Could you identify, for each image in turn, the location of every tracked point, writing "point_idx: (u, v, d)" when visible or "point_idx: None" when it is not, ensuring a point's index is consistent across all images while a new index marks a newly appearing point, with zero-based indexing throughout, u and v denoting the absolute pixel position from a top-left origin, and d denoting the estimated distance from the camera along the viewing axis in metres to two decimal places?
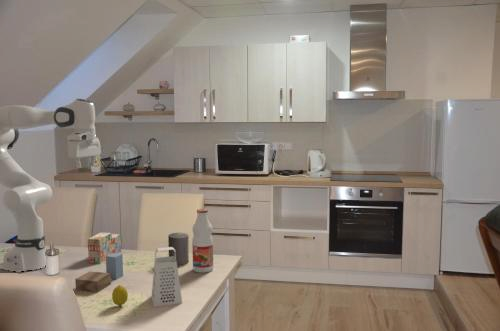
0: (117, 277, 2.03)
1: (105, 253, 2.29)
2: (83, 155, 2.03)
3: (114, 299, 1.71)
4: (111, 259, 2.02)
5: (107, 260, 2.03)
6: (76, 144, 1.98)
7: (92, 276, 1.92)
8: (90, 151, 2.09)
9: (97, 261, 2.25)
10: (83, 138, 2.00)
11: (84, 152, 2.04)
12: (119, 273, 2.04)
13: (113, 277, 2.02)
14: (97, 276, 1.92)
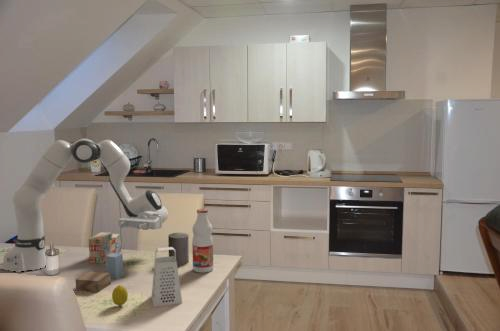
0: (117, 277, 2.03)
1: (106, 253, 2.30)
2: (144, 228, 2.18)
3: (114, 299, 1.71)
4: (111, 259, 2.02)
5: (107, 260, 2.03)
6: (159, 227, 2.21)
7: (92, 276, 1.92)
8: None
9: (98, 261, 2.25)
10: None
11: None
12: (119, 273, 2.04)
13: (113, 277, 2.02)
14: (98, 276, 1.92)
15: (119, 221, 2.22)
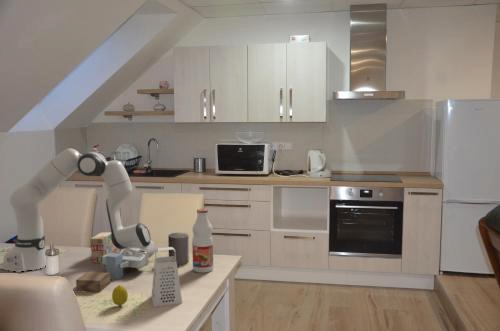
0: (117, 277, 2.03)
1: (108, 252, 2.30)
2: None
3: (114, 299, 1.71)
4: (111, 259, 2.02)
5: (107, 260, 2.03)
6: (145, 264, 2.11)
7: (93, 276, 1.92)
8: None
9: (100, 260, 2.26)
10: None
11: None
12: (119, 273, 2.04)
13: (113, 277, 2.02)
14: (98, 276, 1.92)
15: (103, 258, 2.11)
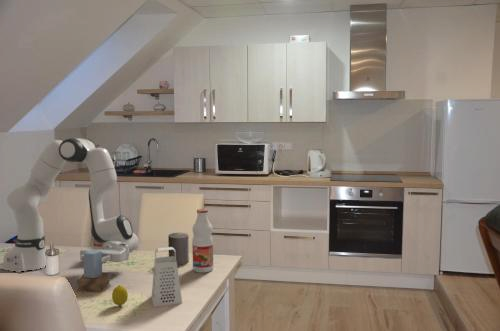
0: (95, 276, 1.90)
1: None
2: None
3: (114, 299, 1.71)
4: (89, 256, 1.90)
5: (85, 257, 1.90)
6: (125, 259, 1.98)
7: None
8: None
9: None
10: None
11: None
12: (97, 271, 1.92)
13: (91, 275, 1.90)
14: None
15: (81, 252, 1.99)
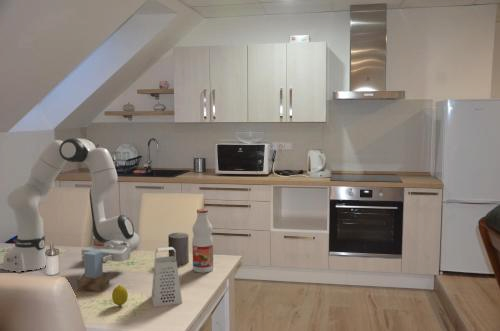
0: (96, 276, 1.91)
1: None
2: None
3: (114, 299, 1.71)
4: (90, 256, 1.89)
5: (85, 258, 1.90)
6: (127, 258, 1.99)
7: None
8: None
9: None
10: None
11: None
12: (98, 271, 1.92)
13: (92, 276, 1.90)
14: None
15: (82, 251, 1.99)
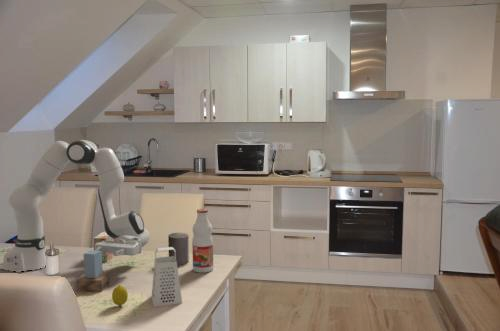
0: (96, 275, 1.91)
1: None
2: None
3: (114, 299, 1.71)
4: (90, 256, 1.90)
5: (85, 258, 1.90)
6: (138, 252, 2.07)
7: None
8: None
9: (103, 260, 2.27)
10: None
11: None
12: (98, 271, 1.92)
13: (92, 276, 1.90)
14: None
15: (96, 246, 2.07)
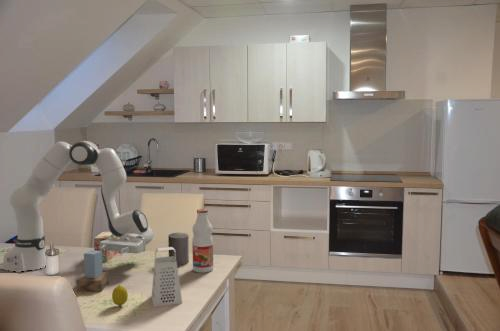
0: (96, 276, 1.90)
1: (110, 252, 2.32)
2: None
3: (114, 299, 1.71)
4: (90, 256, 1.89)
5: (85, 258, 1.90)
6: (142, 250, 2.10)
7: None
8: None
9: (104, 260, 2.27)
10: None
11: None
12: (98, 271, 1.92)
13: (92, 276, 1.90)
14: None
15: (100, 244, 2.11)
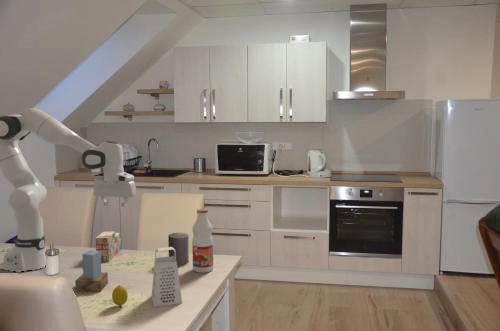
0: (95, 276, 1.90)
1: (112, 251, 2.32)
2: None
3: (114, 299, 1.71)
4: (88, 257, 1.89)
5: (84, 258, 1.90)
6: (134, 183, 2.14)
7: None
8: None
9: (105, 259, 2.28)
10: None
11: None
12: (97, 272, 1.91)
13: (90, 276, 1.90)
14: None
15: (96, 195, 2.16)
